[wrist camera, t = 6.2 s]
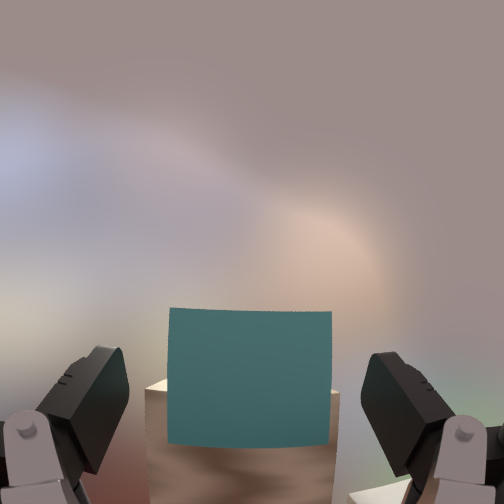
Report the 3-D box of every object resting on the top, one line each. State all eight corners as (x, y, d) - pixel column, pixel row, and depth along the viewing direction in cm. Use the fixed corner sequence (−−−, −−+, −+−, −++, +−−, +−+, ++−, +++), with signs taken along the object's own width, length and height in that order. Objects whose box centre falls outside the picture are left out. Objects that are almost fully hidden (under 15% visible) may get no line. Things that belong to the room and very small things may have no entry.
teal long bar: (167, 443, 6) (169, 307, 7) (218, 370, 27) (219, 334, 28) (328, 444, 6) (331, 311, 7) (261, 371, 27) (262, 335, 28)
